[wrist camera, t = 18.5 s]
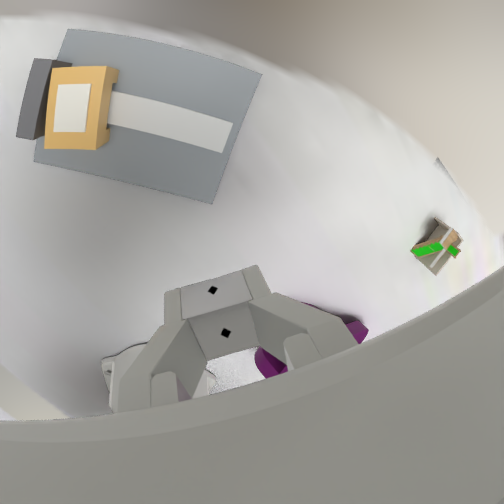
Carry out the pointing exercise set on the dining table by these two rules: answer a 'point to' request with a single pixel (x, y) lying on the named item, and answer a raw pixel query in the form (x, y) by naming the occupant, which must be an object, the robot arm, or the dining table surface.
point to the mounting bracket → (275, 367)
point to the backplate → (149, 113)
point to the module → (79, 107)
